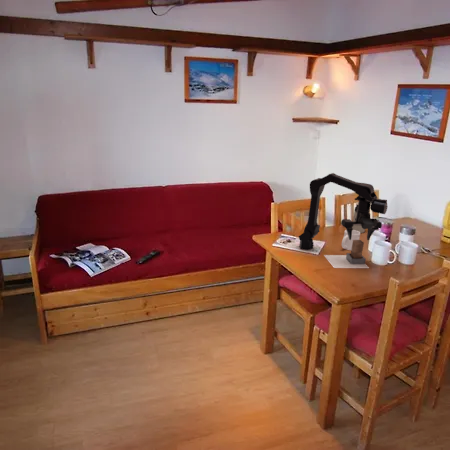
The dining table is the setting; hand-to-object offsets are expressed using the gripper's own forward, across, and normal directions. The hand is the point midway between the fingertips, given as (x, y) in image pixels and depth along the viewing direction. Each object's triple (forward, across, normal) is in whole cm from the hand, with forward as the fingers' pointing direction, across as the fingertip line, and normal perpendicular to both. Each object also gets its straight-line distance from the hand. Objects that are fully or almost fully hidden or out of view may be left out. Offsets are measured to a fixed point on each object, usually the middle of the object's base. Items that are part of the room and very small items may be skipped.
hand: (358, 239), depth 203 cm
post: (+12, 0, 0) cm, 12 cm away
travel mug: (+13, +22, +50) cm, 56 cm away
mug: (+13, +3, +18) cm, 22 cm away
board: (+13, -5, 0) cm, 14 cm away
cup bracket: (+13, 0, 0) cm, 13 cm away
